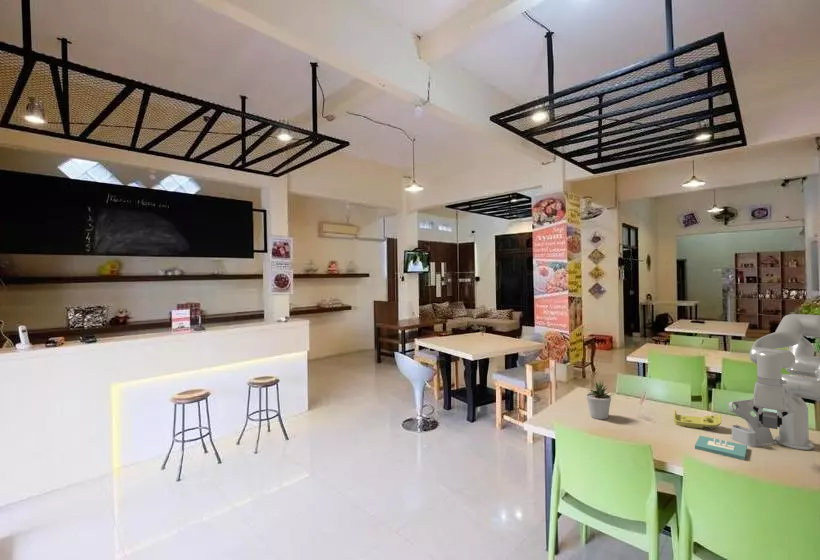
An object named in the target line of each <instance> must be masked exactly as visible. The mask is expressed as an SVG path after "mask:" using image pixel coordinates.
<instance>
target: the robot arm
mask: <svg viewBox="0 0 820 560" xmlns="http://www.w3.org/2000/svg"><path fill="white" fill-rule="evenodd" d="M805 337H811V338H812V337H813V338H820V315H817V314H803V313H802V314H801V313H789V314H786V315H785V316H783V317H782V319H781V320H780V322H779V323H778V326H777V327H776V329H775V332H772V333H768V334H765V335H764V336H762V337H759V338H758V339H756V340H755V341H754V343H753V344H752V346H751V349H750V350H749V354H748V355H749V359H750V360H751V362H752V363H754V364H756V377H757V379H756V380H757V381H755V382H754V388H753V397H752V398H751V399H752V400H751V401H749V402H748V406H750V407H751V408H753V409H754V410H755V411H756V412H757V413H758V414H759V421H761V424H763V412H762V410H763V409H767V410H768V409H769V410H774V411H776V413H778V416H777V423H778V430H779V432H778V433H779V435H777V436H775V437H774V439H775V441H776V442H778V444H780V445H781V446H784V447H787V448H791V449H795V450H801V451H802V450H803V451H811V450H814V448H815V446H814V444H813V443H812V442H810V437H809V436H810V435H809V434H810V433H809V432H810V431H809V430H810V429H809V407H808V405H807V404H806V402H805V400H804V399H808V400H812V401H818V402H820V356H814V355H815V351H816V349H815V346H814V345H813V344H812V343H811V341H809V340H808V339H807V338H805ZM784 348H788V350H787V349H784ZM782 369H785V371H786V372H788V373H782V372H783V371H782ZM753 403H754V405H755V406H754V405H753ZM756 406H757V407H759V408H757V407H756ZM763 411H764V410H763Z"/></svg>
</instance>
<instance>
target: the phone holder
mask: <svg viewBox="0 0 820 560" xmlns="http://www.w3.org/2000/svg"><path fill="white" fill-rule="evenodd" d="M752 399H753V398H750V399H744V400H735V401H730V402H729V403H728V408H729V410H730V412H731V413H733V414H735V415H737V416H738V417H740V418H741V419H742V420H745V421H746V423H747V426H748V428H747V427H744V426H741V425H737V424H733V425H731V437H730V439H731V440H732V441H735V442H736V443H738V444H742V445H747V447H749V448H750V447H751V448H757V447H765V446H770V445H771V444H772V445H777V443H778V442H772V441H775V438H774V437H773V435H772V432H771V428H767V427H763V424H761V421H759V414H758V413H757V412H756V411H755V410H754V409H753V408H751V407H750V406H748V402H749V401H751V400H752ZM733 405H734V406H735V408H734V407H733ZM753 405H754V403H753ZM754 406H755V405H754ZM756 407H757V406H756ZM757 408H759V407H757ZM763 411H764V410H762V412H763ZM752 412H753V413H754V416H753V415H752ZM767 442H769V443H767ZM761 443H762V444H761ZM778 444H779V443H778ZM772 445H771V446H772Z"/></svg>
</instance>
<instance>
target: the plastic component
mask: <svg viewBox="0 0 820 560" xmlns="http://www.w3.org/2000/svg"><path fill="white" fill-rule="evenodd" d="M673 420H674V423H675V425H676V426H679V425H680V426H679V427H685V426H686V427H687V428H693V429H694V428H695V429H703V428H708V429H710V428H713V429H712V430H714V429H716V427H718V426H720V425H721V424H722V422H723V417H722V414H718V415H713V414H712V415H703V416H695V415H684V414H678V413H677V410H675V409H674V410H673ZM686 427H685V428H686Z"/></svg>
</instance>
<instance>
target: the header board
mask: <svg viewBox="0 0 820 560" xmlns="http://www.w3.org/2000/svg"><path fill="white" fill-rule="evenodd" d="M695 442H696V443H694V449H695V450H700V451H702V452H703V451H704V452H708V453H711V454H716V455H720V456H724V457H728V458H729V457H730V458H733V459H737V460H740V461H741V460H743V461H745V459H746V456H747V452H748V446H747V445H744V444H742V443H738V442H733V441H727V440H722V439H719V438H713V437H710V436H704V435H699V436H698V439H697V440H696V441H695Z"/></svg>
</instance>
